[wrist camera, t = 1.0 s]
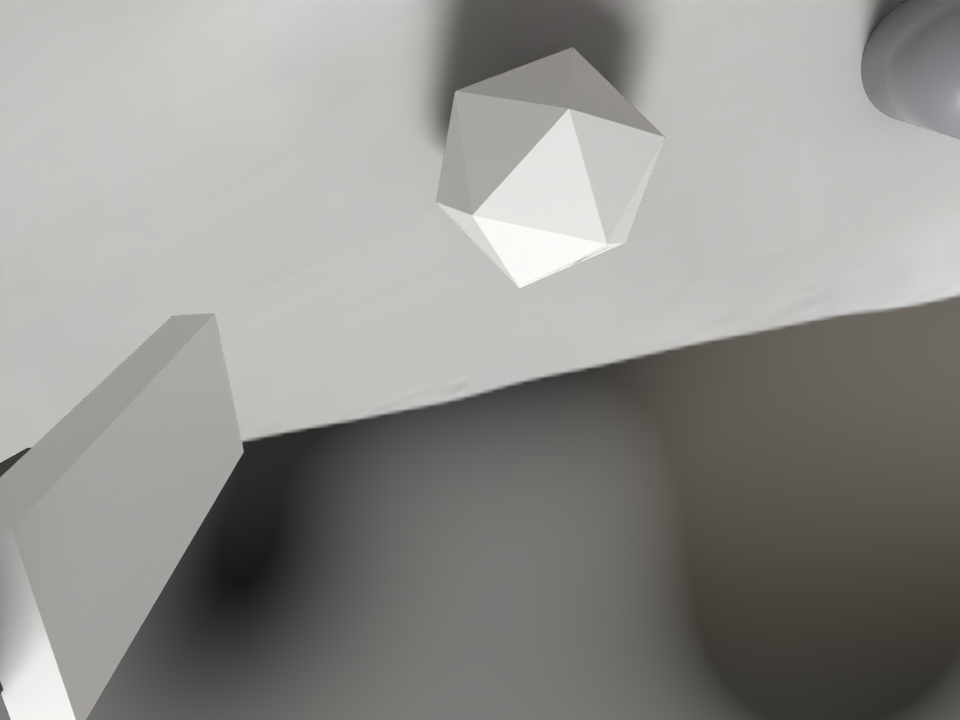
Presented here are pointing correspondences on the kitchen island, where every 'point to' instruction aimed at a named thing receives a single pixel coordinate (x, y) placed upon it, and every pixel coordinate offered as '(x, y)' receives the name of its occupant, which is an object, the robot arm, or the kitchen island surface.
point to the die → (545, 165)
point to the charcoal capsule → (917, 65)
